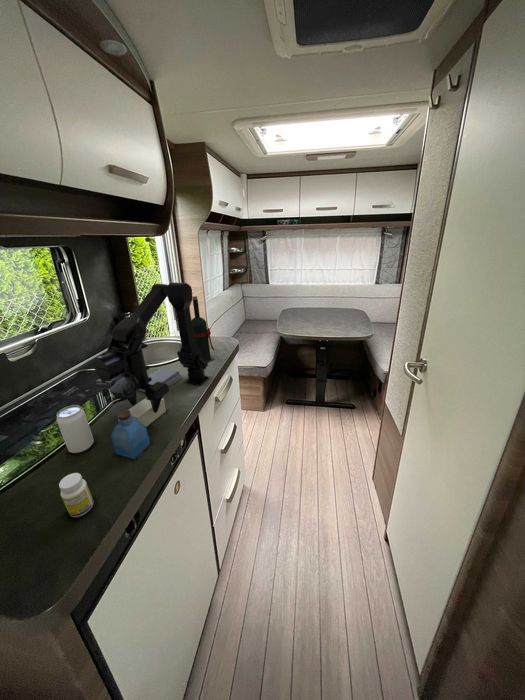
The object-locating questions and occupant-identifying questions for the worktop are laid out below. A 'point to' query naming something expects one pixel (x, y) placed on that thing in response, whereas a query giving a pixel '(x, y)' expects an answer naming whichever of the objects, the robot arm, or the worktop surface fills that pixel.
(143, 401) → the white book
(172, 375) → the grey books
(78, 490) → the supplement bottle
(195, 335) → the wine bottle
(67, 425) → the can
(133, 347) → the robot arm
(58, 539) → the worktop surface
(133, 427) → the perfume bottle
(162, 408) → the white books
